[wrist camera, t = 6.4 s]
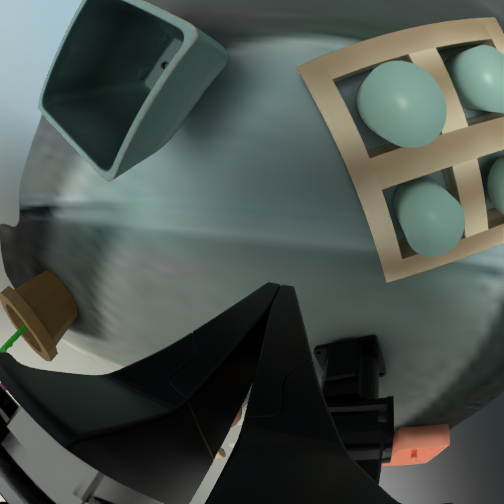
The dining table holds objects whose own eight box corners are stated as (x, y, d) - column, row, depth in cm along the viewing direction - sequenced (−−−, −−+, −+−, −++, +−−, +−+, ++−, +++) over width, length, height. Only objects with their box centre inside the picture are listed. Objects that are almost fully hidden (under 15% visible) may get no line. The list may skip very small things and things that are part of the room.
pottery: (448, 422, 28) (450, 475, 20) (426, 444, 32) (424, 489, 24) (346, 425, 33) (336, 482, 25) (336, 444, 38) (326, 491, 30)
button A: (448, 219, 16) (468, 245, 12) (401, 235, 18) (412, 264, 14) (436, 167, 14) (458, 183, 11) (385, 184, 16) (396, 204, 13)
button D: (497, 104, 10) (527, 108, 7) (457, 114, 12) (484, 118, 9) (476, 50, 9) (503, 42, 6) (434, 59, 11) (456, 49, 7)
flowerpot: (79, 334, 45) (-5, 435, 20) (35, 281, 42) (-55, 371, 17) (93, 310, 37) (-18, 443, 12) (39, 245, 34) (-81, 355, 10)
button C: (431, 127, 12) (458, 135, 9) (373, 147, 14) (384, 159, 10) (404, 64, 11) (423, 52, 7) (344, 84, 12) (346, 75, 9)
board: (531, 210, 12) (546, 223, 10) (383, 263, 19) (386, 282, 17) (479, 24, 8) (494, 17, 5) (301, 72, 15) (295, 67, 12)
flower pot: (263, 60, 15) (201, 29, 7) (191, 151, 20) (108, 187, 12) (177, 8, 14) (92, -19, 6) (122, 93, 18) (35, 107, 11)
